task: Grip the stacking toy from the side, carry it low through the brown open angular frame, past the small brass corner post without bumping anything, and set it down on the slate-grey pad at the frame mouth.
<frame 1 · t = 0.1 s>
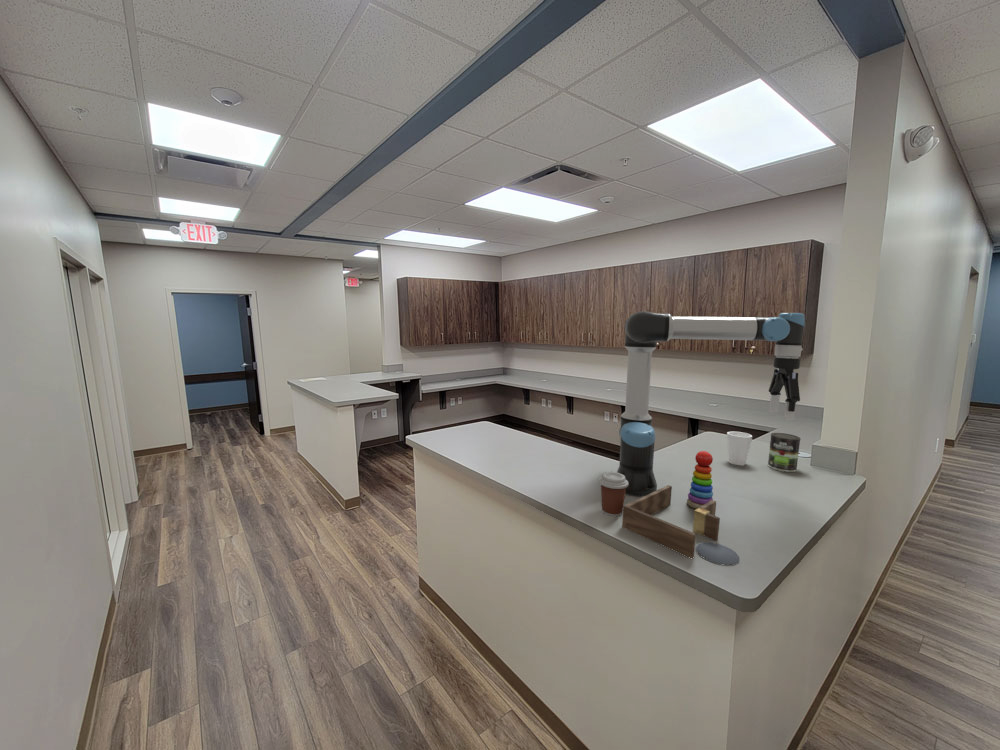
hand: (780, 416, 142), 28 cm above the countertop, tool pointing down, fingers open, 13 cm apart
coffee cup: (612, 512, 128), on the countertop
stacking toy: (699, 506, 132), on the countertop
coffee can: (782, 468, 170), on the countertop
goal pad: (717, 553, 104), on the countertop
foam cup: (736, 463, 175), on the countertop
brown open angular frame: (703, 529, 117), on the countertop
corner post: (700, 532, 116), on the countertop
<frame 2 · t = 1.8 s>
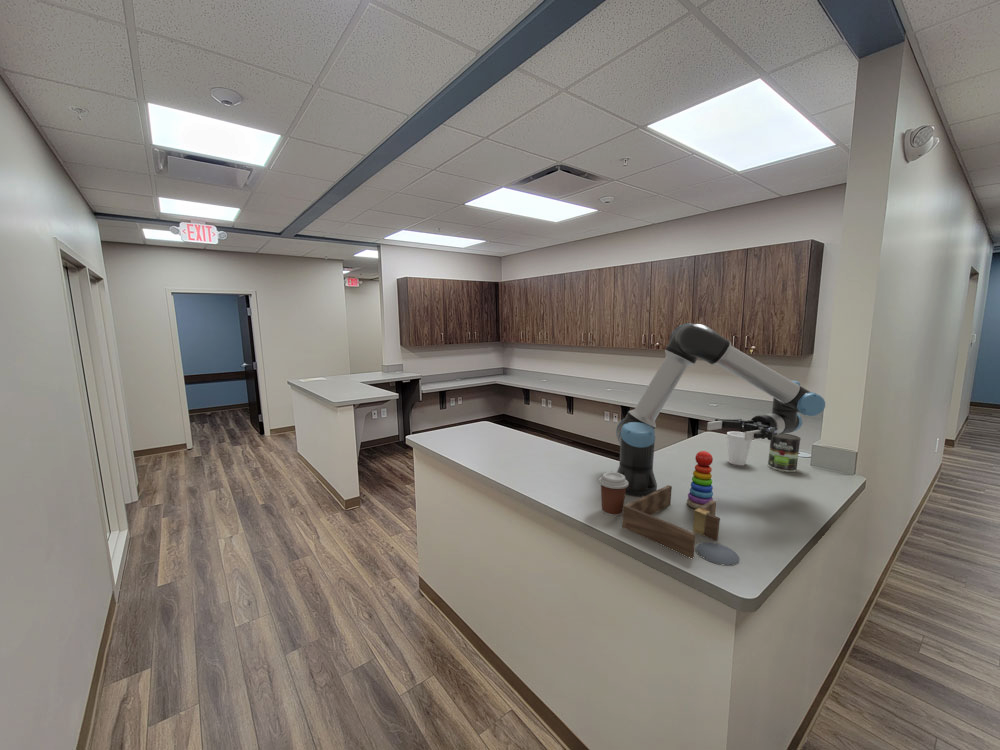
hand: (726, 431, 133), 25 cm above the countertop, tool horizontal, fingers open, 13 cm apart
nothing on the countertop moved.
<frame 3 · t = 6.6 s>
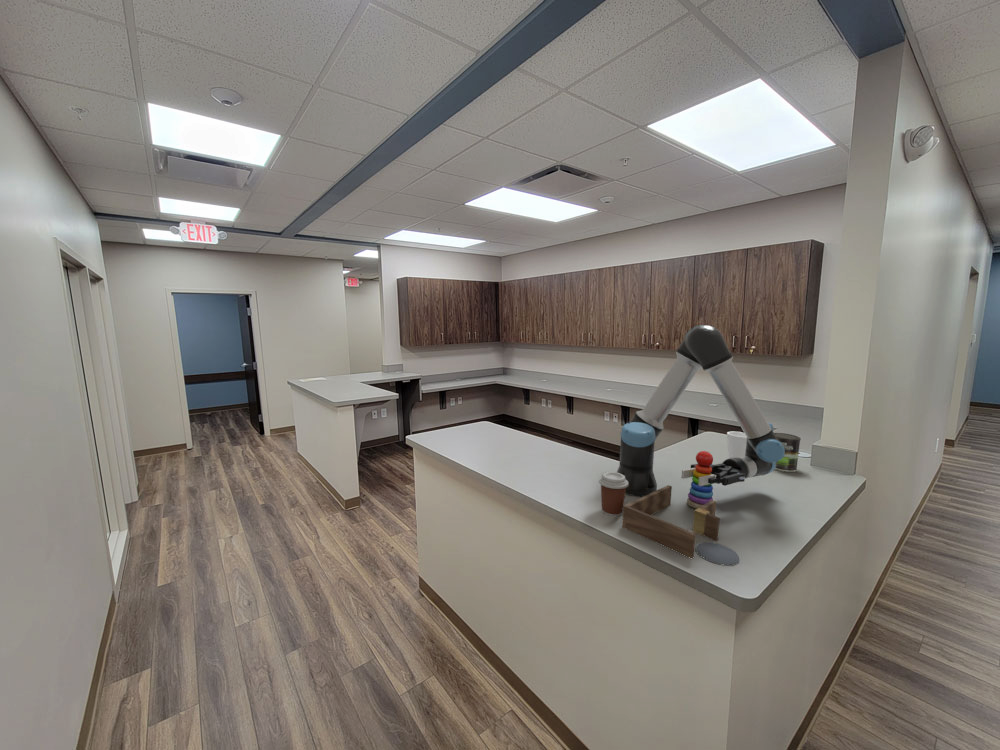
hand: (691, 477, 129), 11 cm above the countertop, tool horizontal, fingers closed on stacking toy, 6 cm apart
stacking toy: (699, 506, 132), on the countertop, touching gripper
everything else where it was.
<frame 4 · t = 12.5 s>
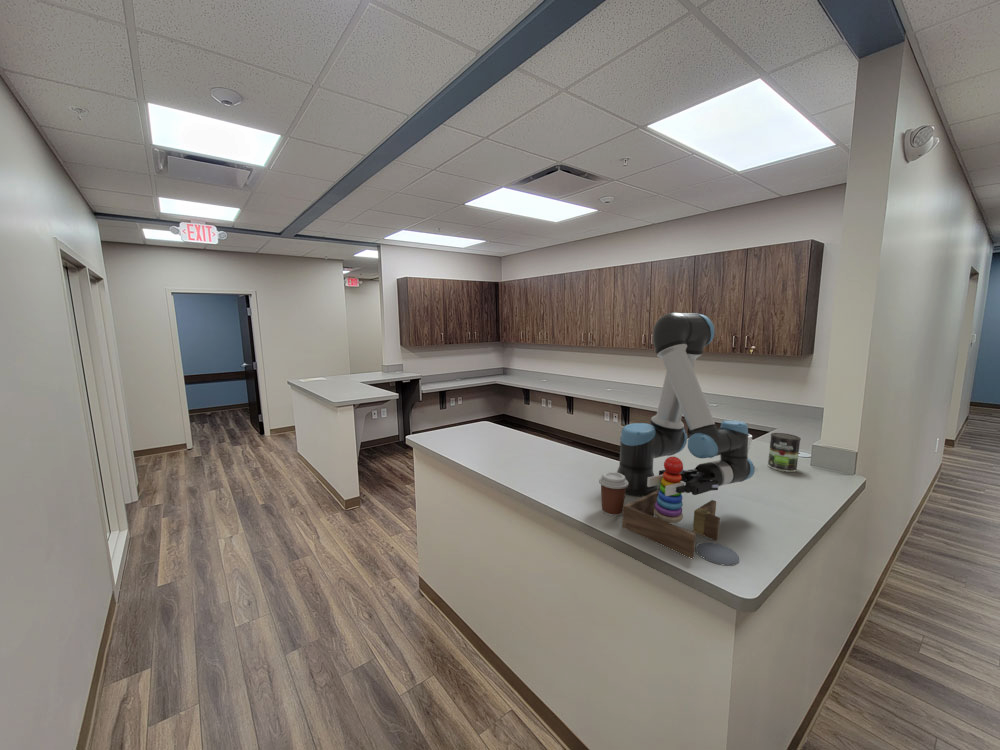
hand: (657, 486, 113), 14 cm above the countertop, tool horizontal, fingers closed on stacking toy, 6 cm apart
stacking toy: (667, 517, 118), point 3 cm above the countertop, touching gripper
everything else where it was.
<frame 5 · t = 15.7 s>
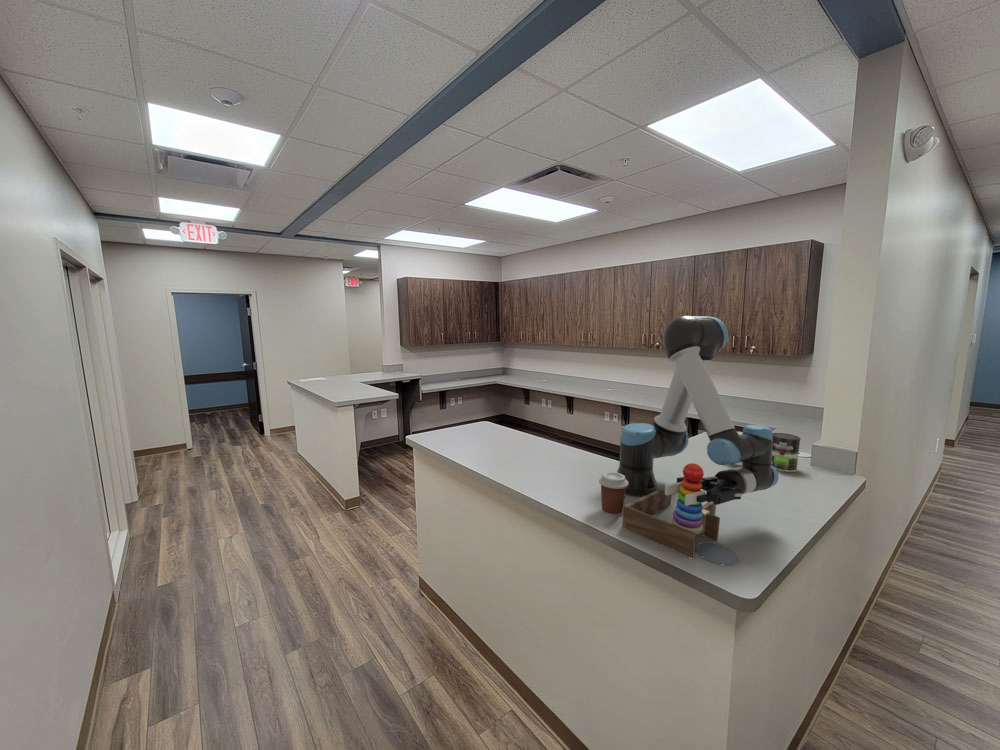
hand: (676, 495, 107), 14 cm above the countertop, tool horizontal, fingers closed on stacking toy, 6 cm apart
stacking toy: (686, 528, 111), point 4 cm above the countertop, touching gripper
everything else where it was.
when the fingers open (12 cm above the countertop, at t = 18.5 s): stacking toy drops 1 cm, resting on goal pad.
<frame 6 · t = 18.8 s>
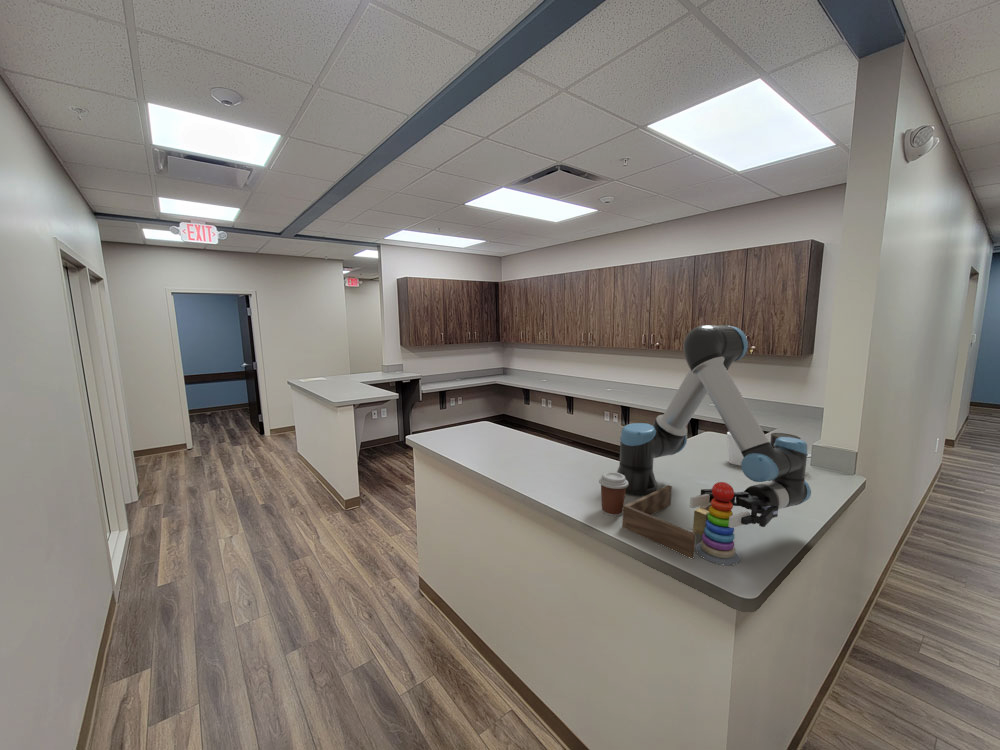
hand: (709, 512, 101), 12 cm above the countertop, tool horizontal, fingers open, 10 cm apart
stacking toy: (717, 551, 105), resting on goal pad
everything else where it was.
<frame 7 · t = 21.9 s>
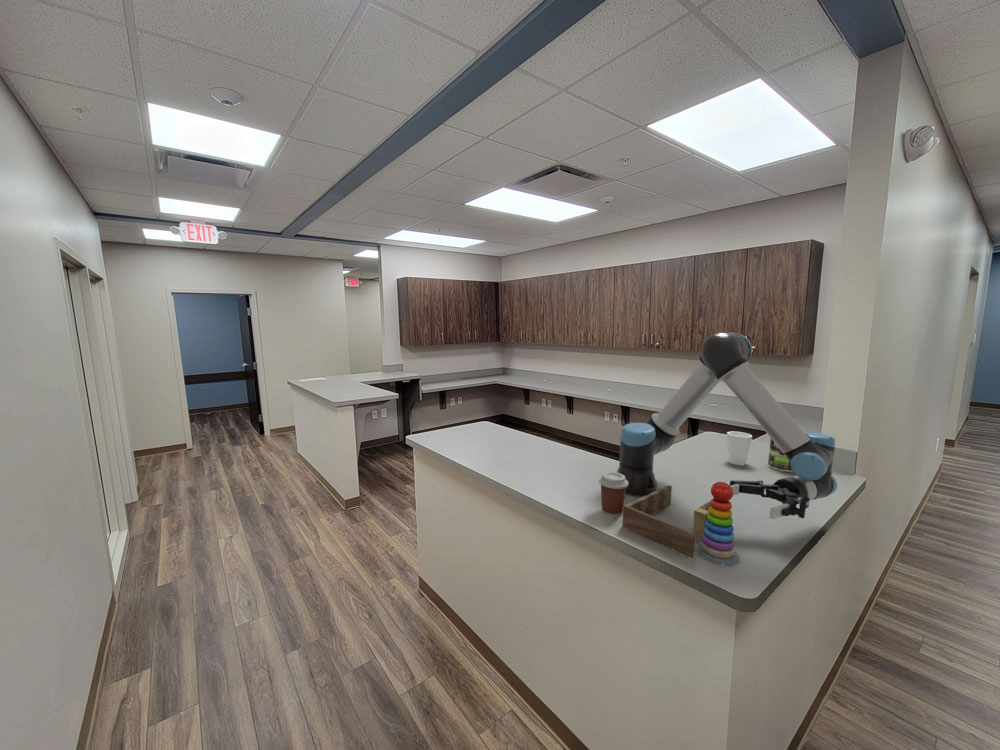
hand: (745, 502, 107), 12 cm above the countertop, tool horizontal, fingers open, 13 cm apart
nothing on the countertop moved.
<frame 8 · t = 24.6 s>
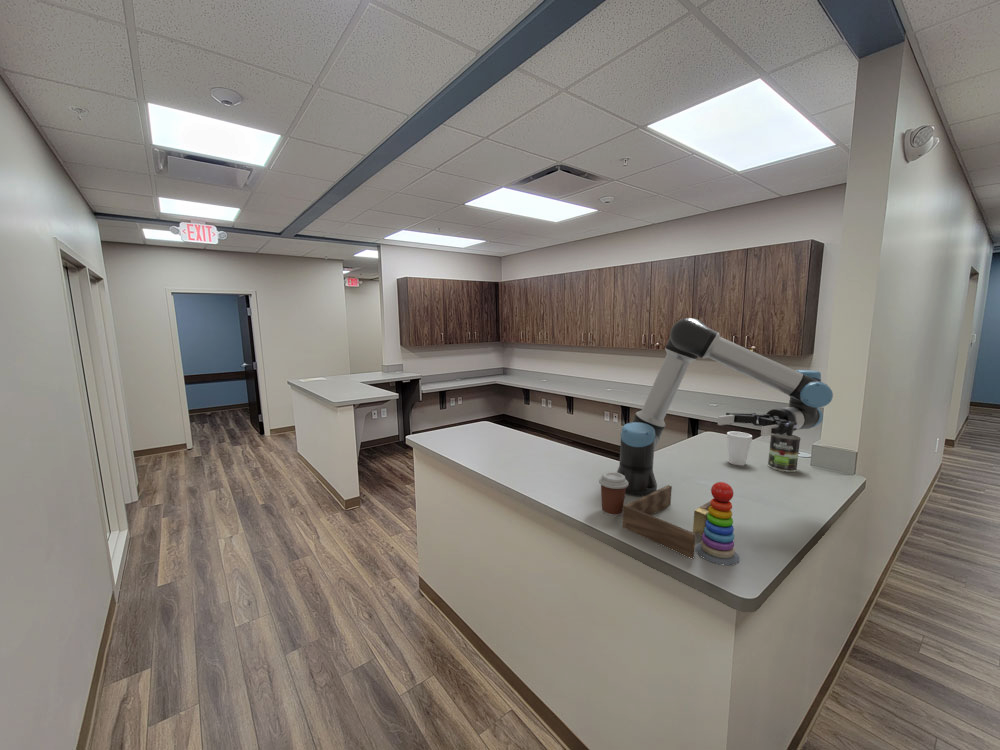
hand: (739, 425, 119), 30 cm above the countertop, tool horizontal, fingers open, 13 cm apart
nothing on the countertop moved.
at the end: stacking toy inside the target area (0.7 cm from its centre), resting on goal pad; stacking toy tilted 1°; corner post moved 0.0 cm from its start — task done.
